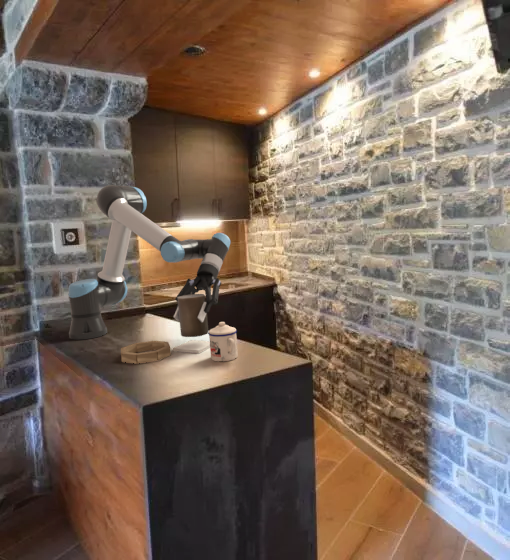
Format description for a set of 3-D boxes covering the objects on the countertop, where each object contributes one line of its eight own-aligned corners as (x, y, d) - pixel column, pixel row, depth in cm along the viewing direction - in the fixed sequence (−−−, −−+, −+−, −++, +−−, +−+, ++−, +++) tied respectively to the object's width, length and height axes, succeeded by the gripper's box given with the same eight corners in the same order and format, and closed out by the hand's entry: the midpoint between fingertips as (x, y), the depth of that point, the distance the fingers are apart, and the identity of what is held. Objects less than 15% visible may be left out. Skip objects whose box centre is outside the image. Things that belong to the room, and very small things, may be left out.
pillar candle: (211, 334, 150) (207, 291, 148) (183, 338, 147) (179, 295, 145) (204, 329, 159) (201, 289, 157) (178, 333, 156) (174, 292, 154)
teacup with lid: (205, 357, 141) (202, 322, 140) (230, 351, 146) (227, 318, 144) (222, 366, 131) (219, 328, 129) (248, 360, 136) (245, 323, 134)
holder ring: (111, 360, 144) (110, 352, 144) (144, 347, 158) (143, 339, 158) (148, 365, 137) (147, 356, 136) (179, 351, 151) (178, 342, 150)
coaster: (172, 350, 151) (172, 348, 151) (191, 342, 161) (191, 340, 161) (198, 353, 146) (198, 350, 146) (216, 344, 156) (216, 341, 156)
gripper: (239, 274, 159) (219, 326, 147) (190, 275, 169) (168, 323, 157) (230, 261, 154) (209, 314, 142) (180, 263, 164) (157, 312, 152)
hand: (187, 319), depth 150 cm, fingers closed on pillar candle, 9 cm apart
